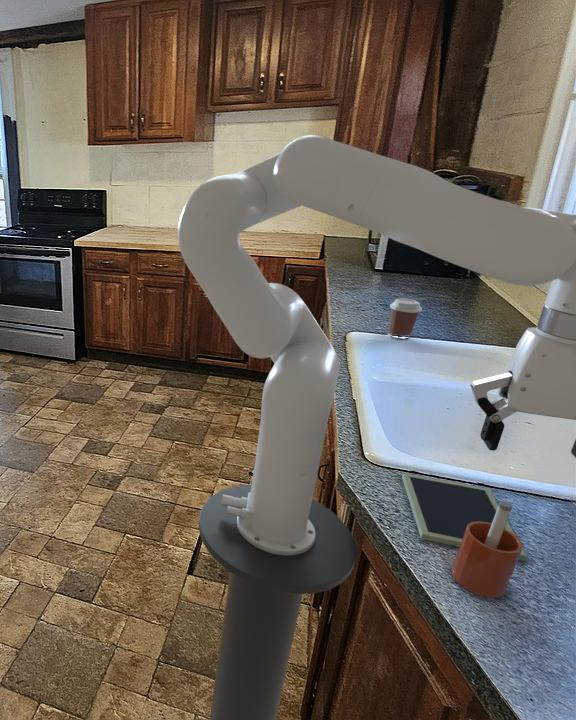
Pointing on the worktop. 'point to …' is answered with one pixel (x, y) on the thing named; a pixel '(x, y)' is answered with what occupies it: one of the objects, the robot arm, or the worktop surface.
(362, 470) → the worktop surface
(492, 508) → the tablet
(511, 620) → the worktop surface
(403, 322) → the coffee cup
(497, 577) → the pen cup
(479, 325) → the worktop surface
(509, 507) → the stylus
